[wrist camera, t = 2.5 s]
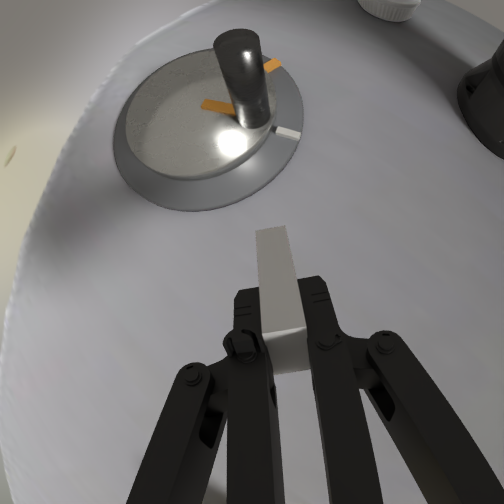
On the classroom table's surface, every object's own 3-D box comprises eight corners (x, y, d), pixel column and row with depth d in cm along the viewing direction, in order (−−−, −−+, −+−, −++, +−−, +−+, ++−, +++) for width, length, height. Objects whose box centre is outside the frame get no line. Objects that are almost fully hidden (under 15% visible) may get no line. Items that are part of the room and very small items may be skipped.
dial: (109, 162, 34) (45, 110, 21) (173, 55, 36) (139, -10, 23) (242, 201, 31) (210, 138, 18) (296, 73, 33) (293, -9, 20)
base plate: (243, 32, 37) (242, 24, 35) (343, 145, 32) (346, 138, 30) (101, 111, 38) (95, 105, 36) (156, 251, 33) (149, 249, 31)
